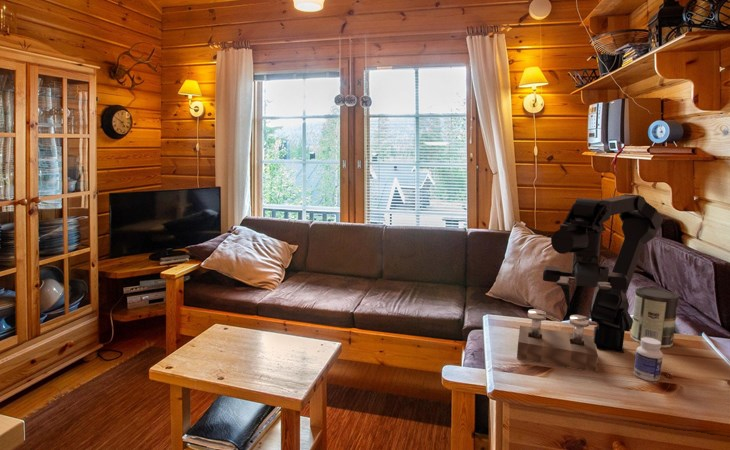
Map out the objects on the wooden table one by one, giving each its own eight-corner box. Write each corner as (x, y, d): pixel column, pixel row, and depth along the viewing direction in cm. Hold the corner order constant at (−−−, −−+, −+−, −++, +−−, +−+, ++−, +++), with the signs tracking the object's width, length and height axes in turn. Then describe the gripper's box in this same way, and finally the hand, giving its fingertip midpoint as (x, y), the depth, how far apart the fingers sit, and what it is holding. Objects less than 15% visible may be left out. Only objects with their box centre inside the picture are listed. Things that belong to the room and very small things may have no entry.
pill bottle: (660, 384, 99) (665, 347, 97) (633, 377, 101) (637, 342, 100) (659, 374, 103) (663, 339, 102) (633, 368, 106) (637, 334, 105)
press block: (590, 352, 115) (592, 336, 114) (596, 372, 104) (597, 354, 103) (518, 340, 121) (520, 325, 120) (516, 358, 110) (518, 341, 109)
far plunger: (544, 333, 115) (546, 310, 114) (544, 339, 111) (546, 316, 110) (526, 330, 116) (528, 308, 115) (526, 336, 112) (527, 313, 111)
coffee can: (662, 334, 127) (668, 288, 125) (680, 349, 117) (687, 299, 115) (624, 331, 129) (629, 286, 127) (638, 345, 119) (644, 296, 117)
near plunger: (586, 339, 111) (588, 316, 110) (587, 346, 107) (590, 322, 106) (567, 336, 113) (569, 313, 112) (568, 343, 109) (570, 319, 108)
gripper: (545, 252, 102) (540, 315, 105) (637, 260, 95) (629, 327, 98) (545, 244, 112) (540, 301, 115) (627, 250, 106) (620, 311, 108)
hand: (580, 310), depth 109 cm, fingers open, 5 cm apart
